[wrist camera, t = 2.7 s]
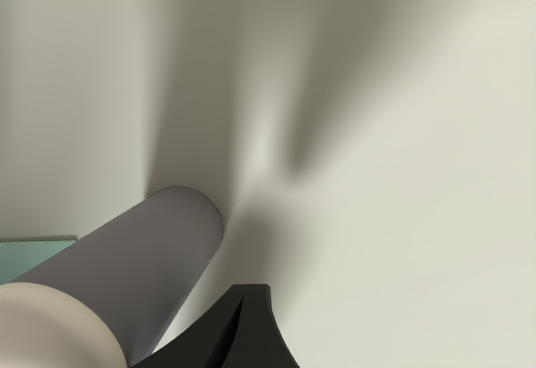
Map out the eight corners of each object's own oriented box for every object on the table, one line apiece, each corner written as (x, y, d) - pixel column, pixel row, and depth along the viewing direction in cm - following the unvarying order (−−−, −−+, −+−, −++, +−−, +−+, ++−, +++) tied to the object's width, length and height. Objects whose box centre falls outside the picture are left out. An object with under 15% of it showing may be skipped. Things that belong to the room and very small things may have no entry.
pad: (109, 389, 19) (107, 392, 19) (26, 387, 20) (24, 390, 19) (76, 239, 17) (73, 241, 17) (-16, 242, 17) (-19, 244, 17)
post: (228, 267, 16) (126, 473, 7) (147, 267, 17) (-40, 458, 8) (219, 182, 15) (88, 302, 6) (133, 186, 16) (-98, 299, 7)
